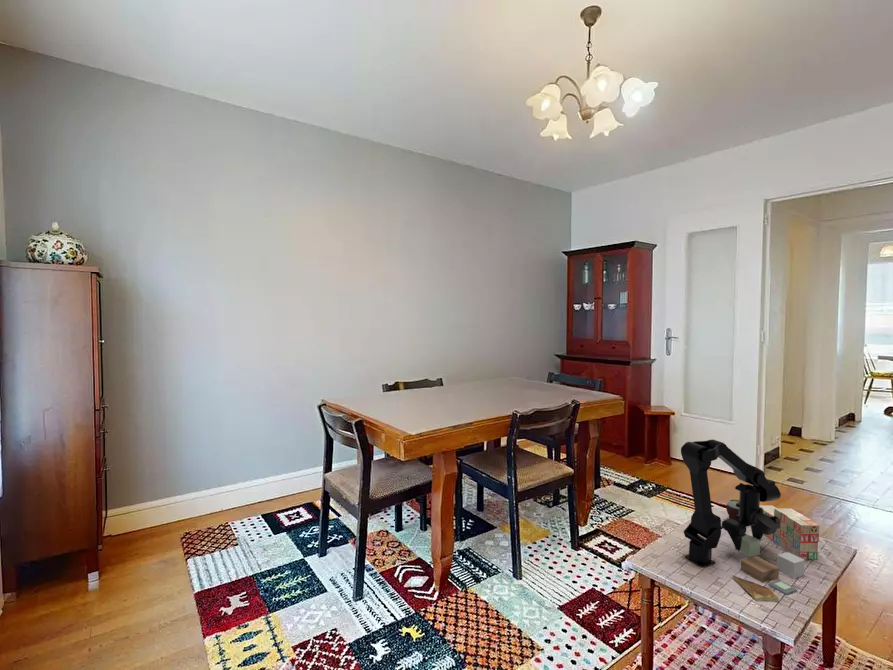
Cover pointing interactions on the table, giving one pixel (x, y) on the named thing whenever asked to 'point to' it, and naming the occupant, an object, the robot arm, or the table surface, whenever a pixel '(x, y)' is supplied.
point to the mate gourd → (733, 509)
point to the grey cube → (790, 564)
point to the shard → (757, 590)
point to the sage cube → (749, 546)
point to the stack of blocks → (794, 532)
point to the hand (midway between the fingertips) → (747, 547)
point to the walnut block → (759, 569)
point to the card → (782, 587)
